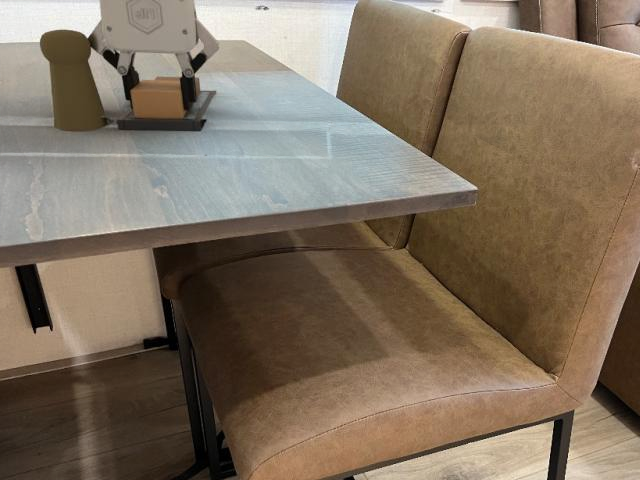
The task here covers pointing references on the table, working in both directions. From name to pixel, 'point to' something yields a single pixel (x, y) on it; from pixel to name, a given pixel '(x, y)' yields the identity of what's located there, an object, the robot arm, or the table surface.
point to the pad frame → (165, 121)
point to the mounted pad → (179, 80)
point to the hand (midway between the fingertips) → (162, 105)
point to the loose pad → (158, 99)
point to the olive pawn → (72, 82)
